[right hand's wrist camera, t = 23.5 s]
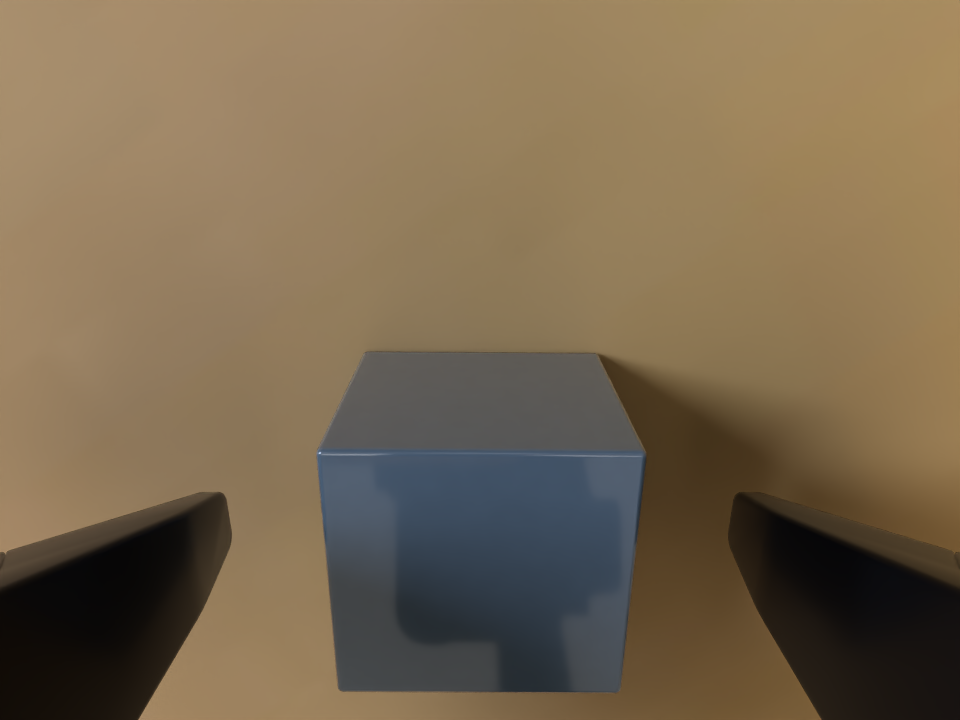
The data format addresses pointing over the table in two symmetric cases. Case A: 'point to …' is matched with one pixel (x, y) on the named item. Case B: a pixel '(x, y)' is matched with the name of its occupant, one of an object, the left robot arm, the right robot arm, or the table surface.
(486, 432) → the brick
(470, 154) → the table surface
